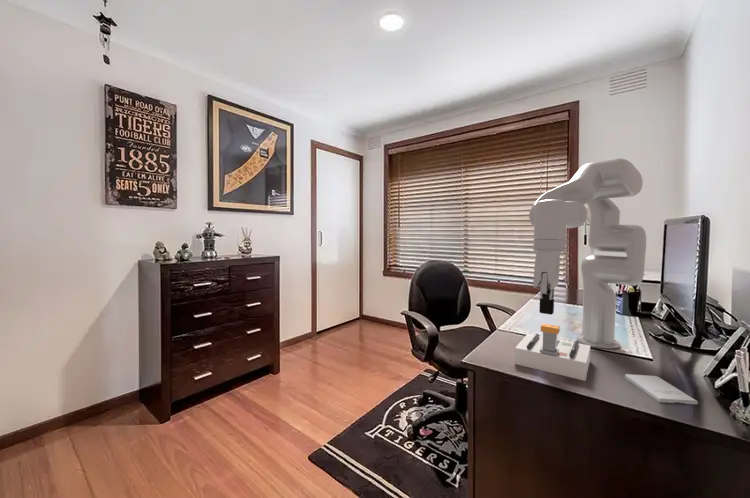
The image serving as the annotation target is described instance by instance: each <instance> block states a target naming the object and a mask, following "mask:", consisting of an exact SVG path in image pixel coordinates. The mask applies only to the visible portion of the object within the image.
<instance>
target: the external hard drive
mask: <svg viewBox="0 0 750 498" xmlns="http://www.w3.org/2000/svg"><path fill="white" fill-rule="evenodd" d="M624 379H625V380H627V381H628V382H629V383H632V384H633V385H634V386H636V387H637V388H638V389H640V390H641V391H643V392H644V393H646V395H648V396H650V397H651V398H652V399H654V400H655V401H657V402H658V403H666V402H667V403H669V404H675V403H677V404H682V403H685V405H686V404H687V405H698V404H699V403H698V402H699V401H698V400H696V399H695V398H693V397H692V396H690V395H688V394H687V393H685V392H683V391H682V390H681V389H679V388H677V387H676V386H674V385H672V384H671V383H669V382H667V381H666V380H664V379H663V378H661V377H659V376H658V375H647V374H629V373H628V374H627V373H626V374H624Z"/></svg>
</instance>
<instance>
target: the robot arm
mask: <svg viewBox="0 0 750 498" xmlns="http://www.w3.org/2000/svg"><path fill="white" fill-rule="evenodd" d="M643 184H644V183H643V178H642V174H641V172H640V171H639V170H638V168H637V167H635V165H634V164H633V162H630V161H629V160H627V159H625V158H613V159H607V160H599V161H593V162H589V163H586V164H583V165H582V166H581V167H580V168H579V169H578V170H577V171H576V172H575V174H574V175H573V176H572V177H571V178H570V180H569V181H568V182H566V183H564V184H561V185H559V186H556V187H555V188H552V189H551V190H549V191H546V192H545V193H543V194H541V195H540V196H539V197H538V198H537V200H536V201H535V202H534V203H533V204H532V206H531V208H530V211H529V214H528V218H529V222H530V224H531V225H532V226H533V248H532V249H533V252H536V253H535V259H534V268H533V269H534V270H533V271H534V272H533V281H532V286H533V288H534V289H538V288H539V287H540V289H539V291H540V293H539V297H540V298H539V313H540V314H544V315H553V314H554V312H555V309H554V308H555V299H554V297H555V288H557V287H558V286H559V283H560V265H561V264H560V263H561V253H565V252H566V234H567V232H566V231H567V229H574V228H578V227H580V226H582V225H583V224H584V223H585V222H586V221H587V217H588V210H587V207H586V206H585V204H586V205H587V206H588V208H589V213H590V218H589V219H590V220H589V230H588V245H589V246H588V247H589V248H590V249H591V250H593V251H597V252H607V253H624V254H626V256H622V255H621V256H618V255H617V256H616V255H602V254H600V255H599V254H596V255H588V256H585V257H584V258H583V259H582V261H581V264H580V265H581V266H580V269H581V275H582V276H581V277H582V284H583V286H582V288H583V297H582V319H581V321H582V323H581V327H582V328H581V334H578V335H576V341H578V342H579V344H584V345H590V347H593V348H597V349H605V350H606V349H607V350H612V349H613V350H615V349H618V348H620V346H621V345H620V344H621V343H620V341H618V340H616V338H615V329H616V305H617V295H616V293H615V291H614V290H613V288H612V286H610V284H614V285H625V286H638V285H640V284H641V283H642V282H643V279H644V276H645V268H646V267H645V263H646V251H647V234H646V231H645V229H644V227H642V226H640V225H638V224H620V217H621V211H620V210H621V209H619V207H618V205H617V204H616V203H615V202H614V201H612V200H611V198H612V199H614V198H629V197H635V196H637V195H638V194H639V193H640V192H641V191H642V188H643Z"/></svg>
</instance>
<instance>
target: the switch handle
mask: <svg viewBox="0 0 750 498" xmlns="http://www.w3.org/2000/svg"><path fill="white" fill-rule="evenodd" d="M560 327H561V326H559V325H554V324H548V323H547V324H546V323H542V324H541V325H540V332H542V337H543V346H542V347H541V349H540V353H545V354H550V355H555V356H557V355H558V353H559V349H557V340H558V335H559V333H560V329H561V328H560Z"/></svg>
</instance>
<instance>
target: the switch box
mask: <svg viewBox="0 0 750 498" xmlns="http://www.w3.org/2000/svg"><path fill="white" fill-rule="evenodd" d="M542 346H543V336H540V334H539V333H536V334H535V335H533V334H528V333H527V334H526V335H525V336H524V337H523V338H522V340H521V341H520V342H519V343H518V344H517V345H516V346H515V347H514V349H515V350H514V365H518V366H522V367H525V368H526V367H527V368H530V369H535V370H538V371H543V372H547V373H551V374H555V375H558V376H559V375H560V376H563V377H568V378H571V379H576V380H580V381H584V382H586V381H587V375H588V372H589V367H590V361H591V346H590V345H585V344H583V343H580V342H579V341H578V340H575V341H574V342H573V341H567V340H562V339H557V349H559V353H558V355H557V356H555V355H550V354H545V353H540V349H541V347H542Z"/></svg>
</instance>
